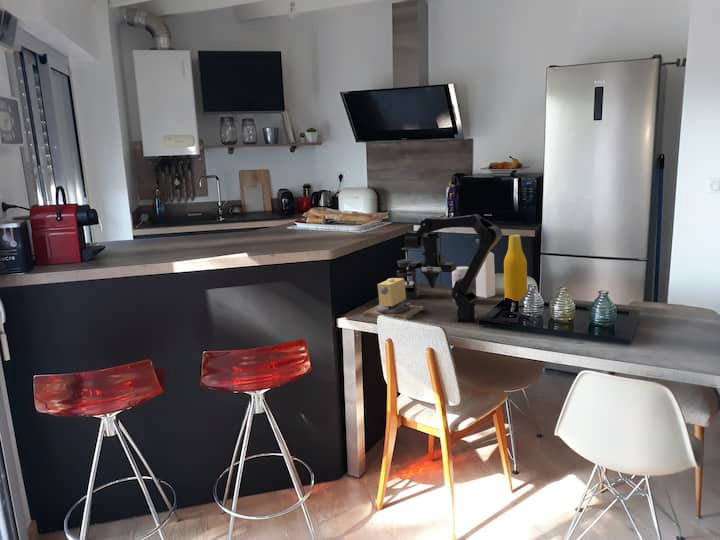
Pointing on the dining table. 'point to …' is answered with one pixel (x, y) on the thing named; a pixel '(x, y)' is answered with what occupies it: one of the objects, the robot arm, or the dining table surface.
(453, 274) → the supplement can
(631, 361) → the dining table surface
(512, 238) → the yellow bottle
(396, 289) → the yellow boxy piece
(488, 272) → the milk
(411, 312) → the level base
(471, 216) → the robot arm
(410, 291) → the french press
